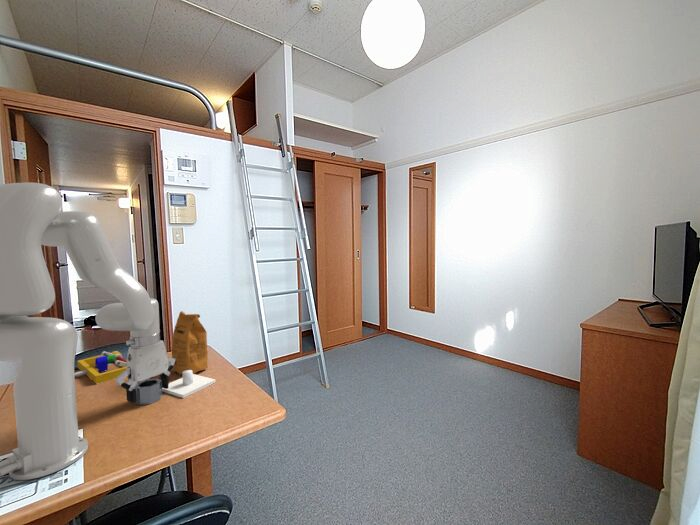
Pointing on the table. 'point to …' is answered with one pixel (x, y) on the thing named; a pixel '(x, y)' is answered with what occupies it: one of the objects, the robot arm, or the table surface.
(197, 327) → the coffee package
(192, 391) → the stand
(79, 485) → the table surface
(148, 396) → the ring
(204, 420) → the table surface
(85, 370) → the yellow toy tray
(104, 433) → the table surface
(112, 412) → the table surface
